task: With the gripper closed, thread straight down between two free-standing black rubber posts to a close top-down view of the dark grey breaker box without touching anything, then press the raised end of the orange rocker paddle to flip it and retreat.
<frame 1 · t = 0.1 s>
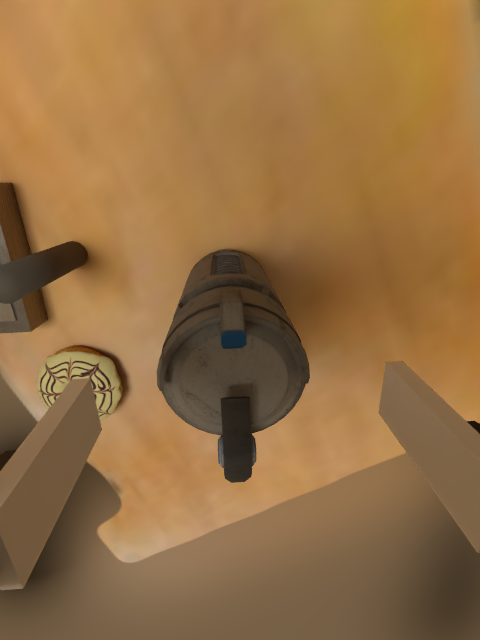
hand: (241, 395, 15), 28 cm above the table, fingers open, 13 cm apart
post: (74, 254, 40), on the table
beverage bottle: (227, 294, 43), on the table
decorated donut: (87, 377, 46), on the table
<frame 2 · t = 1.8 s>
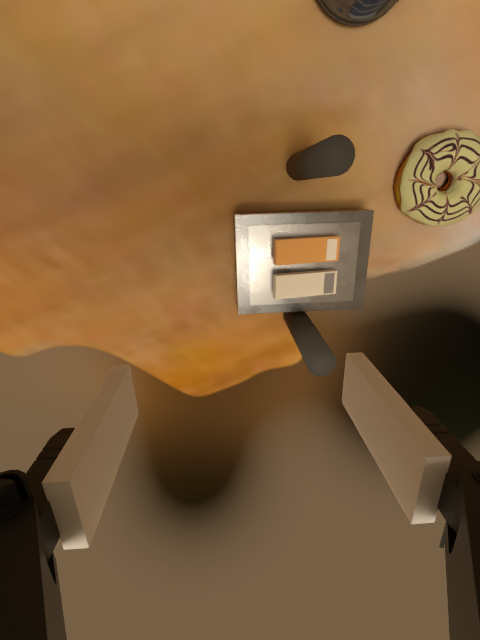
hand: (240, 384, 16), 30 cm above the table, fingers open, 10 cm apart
paddle orange: (306, 250, 38), point 6 cm above the table, hinge at 9.3°
breaker box: (295, 258, 44), on the table
paddle ivory: (305, 284, 39), point 6 cm above the table, hinge at 9.3°
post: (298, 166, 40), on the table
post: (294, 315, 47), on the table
decorated donut: (431, 180, 42), on the table
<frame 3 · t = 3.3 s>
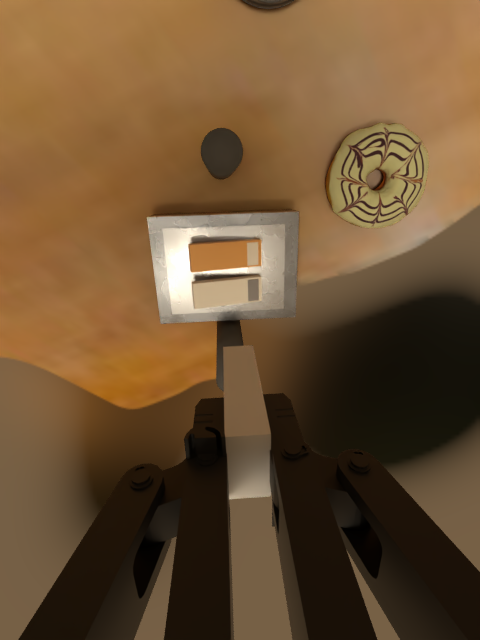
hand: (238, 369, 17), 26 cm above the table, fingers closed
paddle orange: (225, 255, 35), point 6 cm above the table, hinge at 12.8°, touching breaker box
breaker box: (225, 263, 41), on the table
paddle ivory: (227, 291, 36), point 6 cm above the table, hinge at 12.8°, touching breaker box
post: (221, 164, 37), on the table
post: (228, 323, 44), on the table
decorated donut: (367, 179, 39), on the table
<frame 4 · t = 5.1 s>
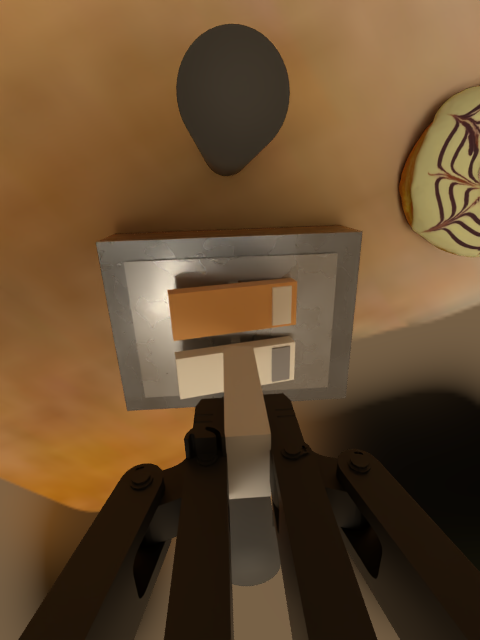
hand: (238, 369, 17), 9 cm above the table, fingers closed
paddle orange: (234, 308, 20), point 6 cm above the table, hinge at 11.8°, touching breaker box
breaker box: (232, 308, 26), on the table
paddle ivory: (237, 367, 21), point 6 cm above the table, hinge at 11.8°, touching breaker box
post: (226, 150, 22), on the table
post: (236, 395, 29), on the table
decorated donut: (466, 176, 24), on the table
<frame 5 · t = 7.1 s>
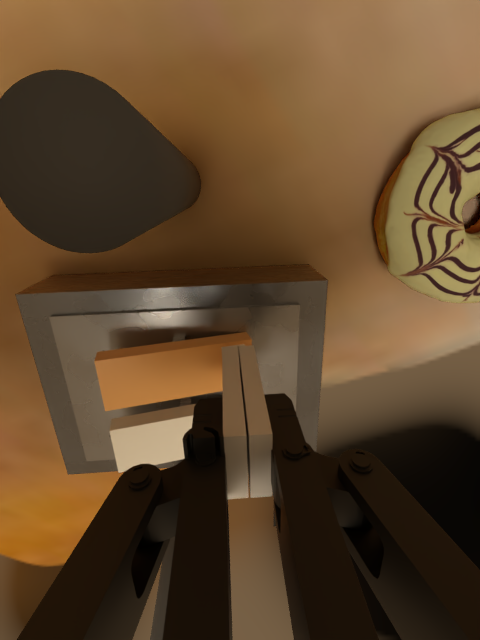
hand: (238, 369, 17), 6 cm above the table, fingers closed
paddle orange: (179, 370, 17), point 6 cm above the table, hinge at 11.5°, touching gripper
breaker box: (190, 354, 23), on the table
paddle ivory: (186, 432, 19), point 6 cm above the table, hinge at 11.5°
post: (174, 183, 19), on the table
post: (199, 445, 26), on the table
decorated donut: (450, 209, 21), on the table
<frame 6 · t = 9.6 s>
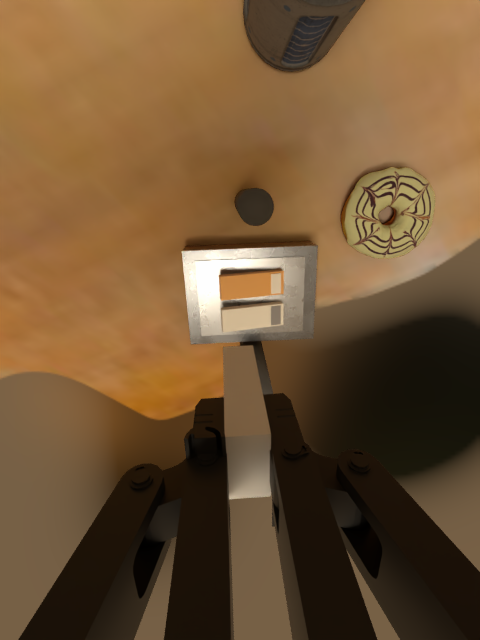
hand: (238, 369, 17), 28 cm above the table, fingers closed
paddle orange: (251, 284, 39), point 6 cm above the table, hinge at 11.4°
breaker box: (249, 288, 45), on the table
paddle ivory: (252, 316, 40), point 6 cm above the table, hinge at 11.4°
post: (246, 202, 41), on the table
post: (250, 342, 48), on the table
beverage bottle: (298, 18, 35), on the table
decorated donut: (379, 213, 43), on the table
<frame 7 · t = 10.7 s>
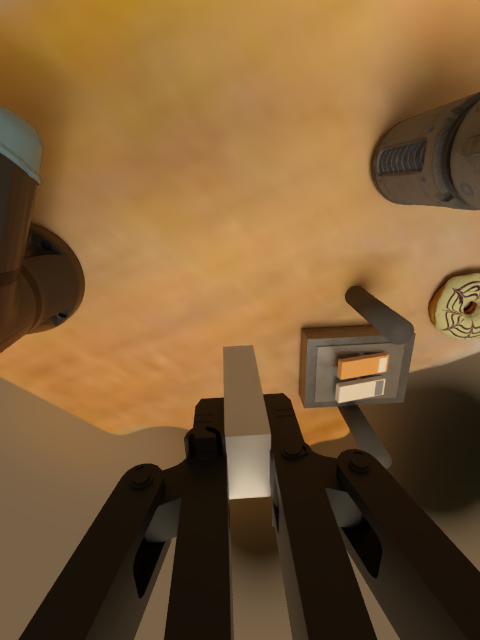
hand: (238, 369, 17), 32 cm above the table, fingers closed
paddle orange: (363, 365, 49), point 6 cm above the table, hinge at 11.4°
breaker box: (348, 359, 54), on the table
paddle ivory: (360, 389, 50), point 6 cm above the table, hinge at 11.4°
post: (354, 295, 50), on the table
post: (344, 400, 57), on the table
beverage bottle: (411, 163, 44), on the table
decorated donut: (458, 302, 52), on the table
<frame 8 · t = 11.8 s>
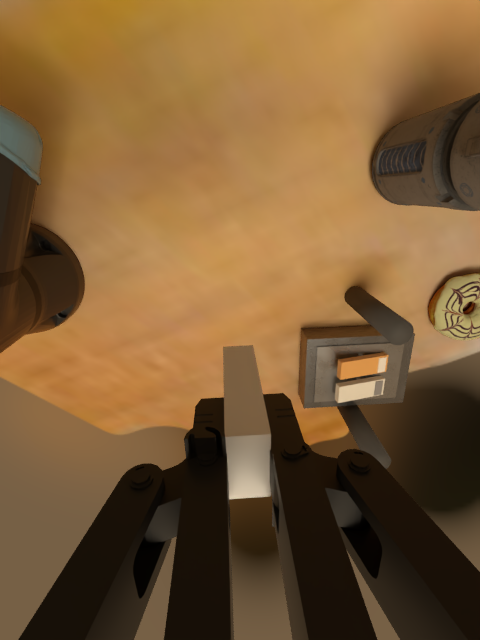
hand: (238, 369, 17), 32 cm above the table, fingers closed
paddle orange: (362, 366, 49), point 6 cm above the table, hinge at 11.4°
breaker box: (348, 359, 55), on the table
paddle ivory: (360, 389, 50), point 6 cm above the table, hinge at 11.4°
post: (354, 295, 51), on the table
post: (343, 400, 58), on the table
beverage bottle: (410, 164, 44), on the table
decorated donut: (458, 302, 52), on the table
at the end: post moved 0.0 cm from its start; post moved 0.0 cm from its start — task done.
